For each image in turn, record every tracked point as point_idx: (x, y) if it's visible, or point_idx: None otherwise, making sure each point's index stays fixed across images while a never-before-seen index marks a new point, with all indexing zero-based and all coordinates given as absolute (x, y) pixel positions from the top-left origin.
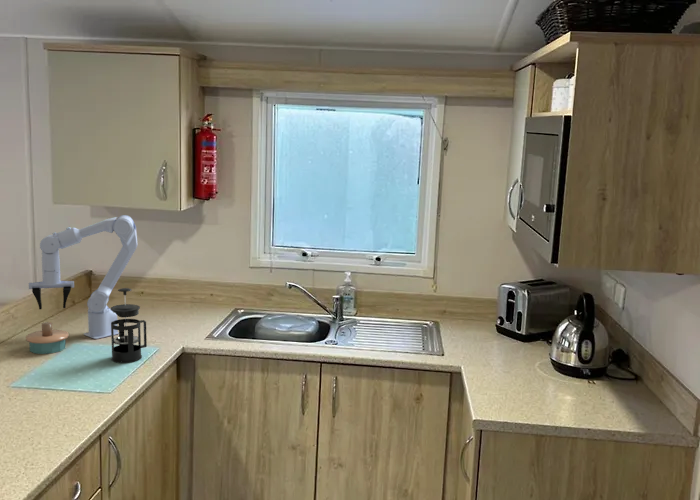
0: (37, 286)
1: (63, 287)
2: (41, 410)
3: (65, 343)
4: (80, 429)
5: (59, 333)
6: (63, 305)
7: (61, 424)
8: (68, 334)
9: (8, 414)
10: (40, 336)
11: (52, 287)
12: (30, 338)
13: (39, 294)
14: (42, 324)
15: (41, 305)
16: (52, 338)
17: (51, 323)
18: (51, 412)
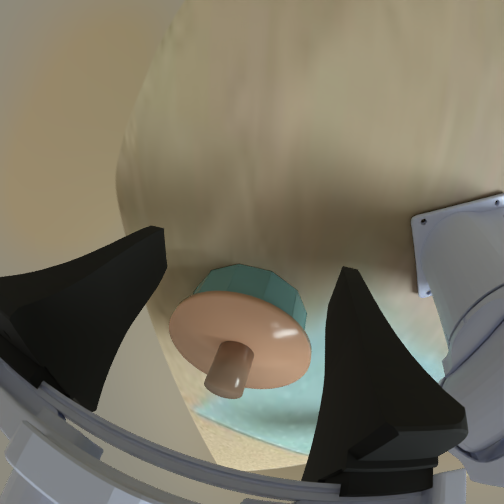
0: (29, 397)
1: (342, 469)
2: (235, 448)
3: (305, 319)
4: (263, 466)
5: (279, 355)
6: (328, 329)
7: (250, 460)
8: (308, 366)
9: (206, 440)
10: (214, 351)
11: (179, 461)
12: (186, 352)
13: (100, 381)
14: (208, 388)
15: (152, 262)
16: (251, 379)
17: (240, 395)
18: (244, 452)
